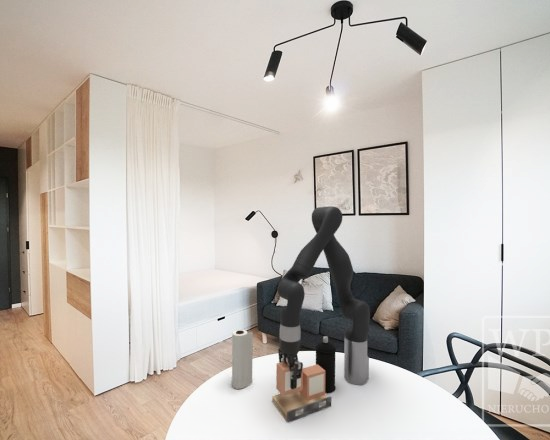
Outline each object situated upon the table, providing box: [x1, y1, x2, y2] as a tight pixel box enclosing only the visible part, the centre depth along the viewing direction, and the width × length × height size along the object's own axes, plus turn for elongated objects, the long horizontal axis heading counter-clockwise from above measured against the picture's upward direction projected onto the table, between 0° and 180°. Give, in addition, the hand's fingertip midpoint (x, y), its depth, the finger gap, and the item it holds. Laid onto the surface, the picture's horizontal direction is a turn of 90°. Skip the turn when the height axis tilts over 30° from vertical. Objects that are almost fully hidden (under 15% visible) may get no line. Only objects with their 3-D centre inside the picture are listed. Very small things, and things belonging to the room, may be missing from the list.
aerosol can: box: [315, 335, 337, 394], centre depth 109 cm, size 8×8×20 cm
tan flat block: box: [271, 391, 332, 423], centre depth 99 cm, size 18×12×3 cm, turn 117°
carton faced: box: [300, 364, 326, 401], centre depth 102 cm, size 8×5×9 cm, turn 117°
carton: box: [275, 361, 304, 396], centre depth 98 cm, size 8×5×9 cm, turn 117°
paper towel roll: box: [231, 329, 254, 390], centre depth 110 cm, size 7×6×21 cm
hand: (289, 383), depth 98 cm, fingers closed on carton, 5 cm apart
